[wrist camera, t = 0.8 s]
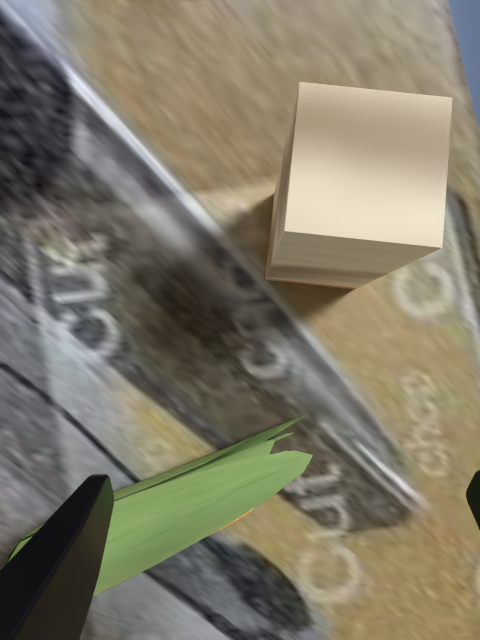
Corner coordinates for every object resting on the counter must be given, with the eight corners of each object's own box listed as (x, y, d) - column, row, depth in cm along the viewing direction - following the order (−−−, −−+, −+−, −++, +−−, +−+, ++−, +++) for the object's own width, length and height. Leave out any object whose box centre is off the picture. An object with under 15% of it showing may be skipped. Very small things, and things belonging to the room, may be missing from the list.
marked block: (353, 289, 23) (442, 247, 13) (264, 280, 23) (284, 231, 13) (361, 202, 23) (452, 97, 13) (274, 193, 23) (299, 82, 13)
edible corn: (-37, 552, 18) (-28, 657, 16) (313, 400, 19) (353, 484, 17) (29, 529, 23) (41, 608, 21) (304, 409, 24) (335, 476, 22)
